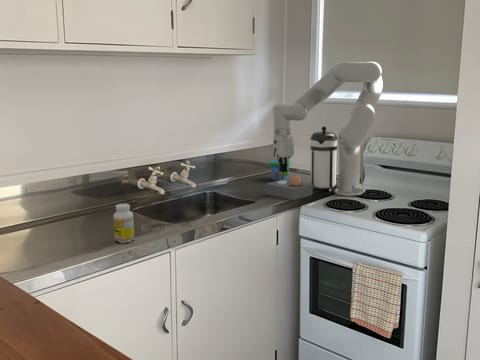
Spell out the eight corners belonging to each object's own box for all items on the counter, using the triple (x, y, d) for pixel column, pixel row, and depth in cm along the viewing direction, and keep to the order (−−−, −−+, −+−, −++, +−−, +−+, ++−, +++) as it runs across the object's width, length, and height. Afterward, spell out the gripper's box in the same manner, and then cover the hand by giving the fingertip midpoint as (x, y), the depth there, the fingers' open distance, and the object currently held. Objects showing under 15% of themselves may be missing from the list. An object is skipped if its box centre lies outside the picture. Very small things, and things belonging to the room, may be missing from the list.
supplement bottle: (111, 240, 188) (109, 204, 185) (129, 237, 192) (127, 201, 189) (120, 245, 182) (117, 208, 180) (138, 241, 186) (135, 205, 184)
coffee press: (346, 190, 256) (348, 126, 250) (317, 193, 250) (318, 128, 244) (327, 183, 272) (328, 123, 265) (299, 186, 266) (299, 125, 260)
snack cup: (266, 177, 287) (265, 158, 285) (285, 176, 290) (285, 157, 287) (274, 183, 272) (274, 163, 270) (294, 182, 275) (294, 162, 272)
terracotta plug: (302, 187, 245) (303, 176, 244) (296, 189, 242) (296, 178, 241) (295, 186, 248) (295, 175, 247) (289, 187, 245) (289, 176, 244)
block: (312, 195, 247) (312, 184, 246) (293, 200, 239) (293, 189, 238) (284, 189, 259) (284, 179, 258) (265, 194, 251) (265, 183, 250)
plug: (288, 192, 252) (288, 181, 251) (282, 193, 249) (282, 183, 248) (281, 190, 255) (281, 180, 254) (275, 192, 252) (275, 181, 251)
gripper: (277, 134, 239) (278, 175, 242) (299, 130, 248) (300, 169, 252) (264, 133, 244) (266, 173, 248) (287, 129, 254) (288, 168, 258)
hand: (283, 171), depth 250 cm, fingers closed
